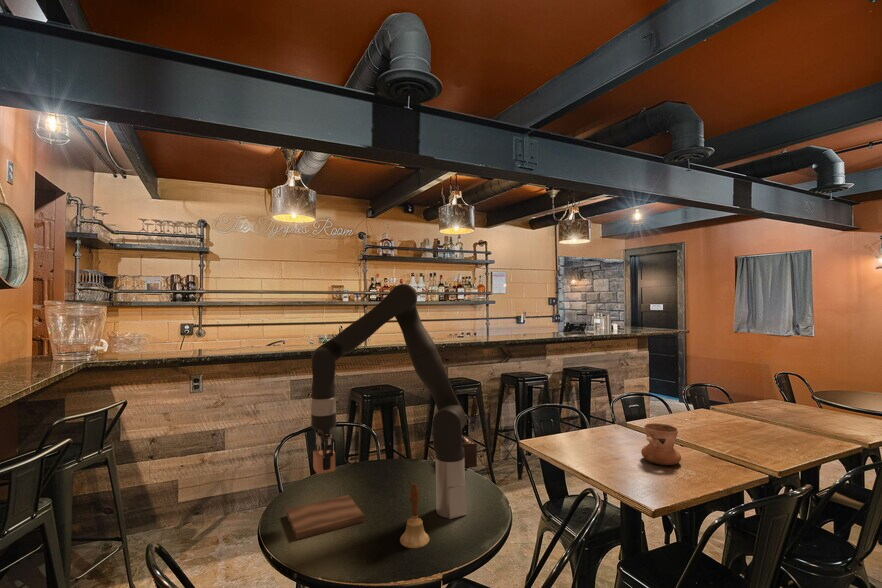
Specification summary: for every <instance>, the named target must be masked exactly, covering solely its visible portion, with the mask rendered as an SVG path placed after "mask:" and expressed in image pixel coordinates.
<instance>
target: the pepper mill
mask: <svg viewBox="0 0 882 588" xmlns="http://www.w3.org/2000/svg"><path fill="white" fill-rule="evenodd" d="M465 416H466V422H465V425H464V427H465V426H467V425H468V423H467V420H468V419H469V416H468V415H467V414H466V413H465ZM461 440H462V447H463V448H464V463H465V469H469V468H475V467H478V457H477V456H478V455H477V454H478V453H477V451H478V450H477V448H478V447H477V443H476V441H474V440H473V438H472V437H471V436H470V434H468V435H467V436H466V435H465V434H463V430H461Z"/></svg>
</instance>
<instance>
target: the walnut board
mask: <svg viewBox="0 0 882 588" xmlns="http://www.w3.org/2000/svg"><path fill="white" fill-rule="evenodd" d="M286 518H287V521H288V522H290V523H289V524H290V525H289V526H290V528H291V527H292V528H291V530H292V533H293V532H294V533H293V535H294V538H295V537H296V538H295V540H296V539H299V540H301V539H300V538H302V539H306V538H309V536H310V537H313V536H315V535H316V536H317V535H321V534H324V533H328V532H331V531H335V530H338V529H342V528H346V527H350V526H353V525H357V524H361V523H363V522H365V514H364V513H363V512H362V510H361V509H360V508H359V506H358V505H357V504H356V502H355V501H354V500H353V499H352V497H351V496H350V495H349V494H347V495H342V496H339V497H334V498H329V499H326V500H322V501H317V502H312V503H309V504H304V505H301V506H296V507H292V508H287V509H286ZM305 537H306V538H305Z"/></svg>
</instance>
